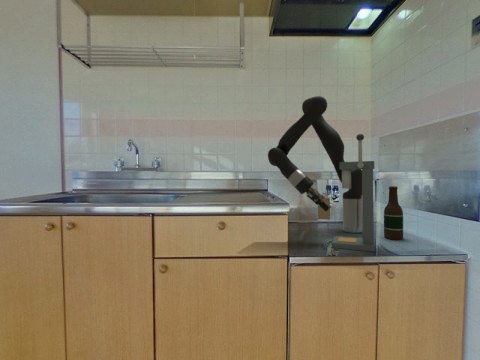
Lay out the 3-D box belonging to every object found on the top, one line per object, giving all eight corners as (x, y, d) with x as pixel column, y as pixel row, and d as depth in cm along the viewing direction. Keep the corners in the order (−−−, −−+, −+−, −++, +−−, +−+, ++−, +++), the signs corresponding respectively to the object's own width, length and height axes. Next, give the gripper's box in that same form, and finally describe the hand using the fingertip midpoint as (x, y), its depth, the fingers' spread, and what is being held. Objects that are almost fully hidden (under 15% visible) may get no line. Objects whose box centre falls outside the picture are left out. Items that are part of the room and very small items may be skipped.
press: (335, 240, 121) (334, 139, 120) (374, 243, 114) (373, 136, 113) (331, 247, 109) (330, 135, 108) (375, 251, 102) (374, 131, 101)
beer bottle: (392, 240, 119) (392, 186, 118) (380, 236, 126) (379, 186, 126) (407, 239, 120) (407, 186, 120) (394, 235, 128) (393, 186, 127)
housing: (319, 217, 119) (319, 194, 119) (329, 217, 117) (329, 194, 117) (317, 218, 115) (317, 195, 115) (328, 219, 113) (328, 195, 113)
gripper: (302, 175, 113) (333, 205, 108) (309, 175, 126) (336, 201, 121) (290, 188, 115) (319, 217, 110) (298, 186, 128) (324, 212, 123)
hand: (328, 209), depth 115 cm, fingers closed on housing, 4 cm apart
